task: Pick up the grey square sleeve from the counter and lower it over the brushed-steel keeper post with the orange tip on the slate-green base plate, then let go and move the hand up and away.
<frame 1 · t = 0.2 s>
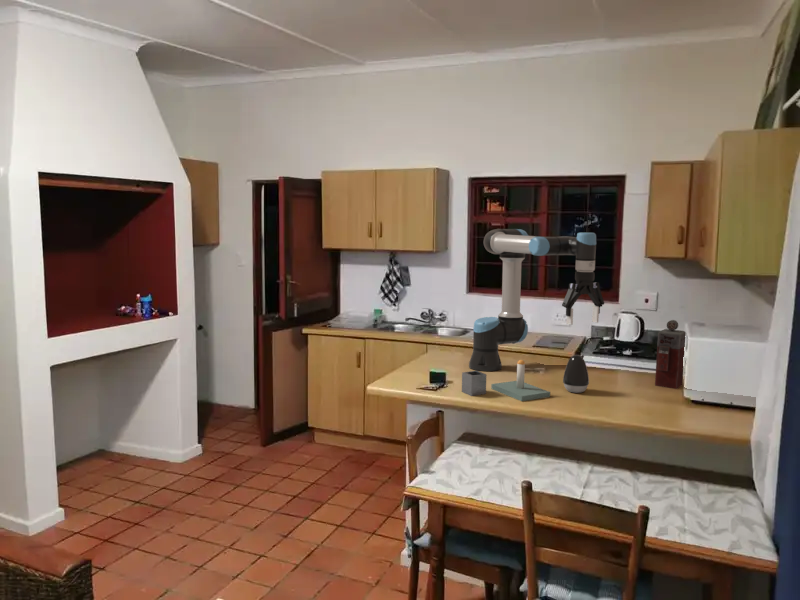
hand: (582, 323, 262), 28 cm above the table, fingers open, 13 cm apart
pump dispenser: (575, 391, 263), on the table
keeper: (520, 392, 260), on the table
toy vending machine: (667, 386, 274), on the table
grey square sleeve: (473, 392, 260), on the table
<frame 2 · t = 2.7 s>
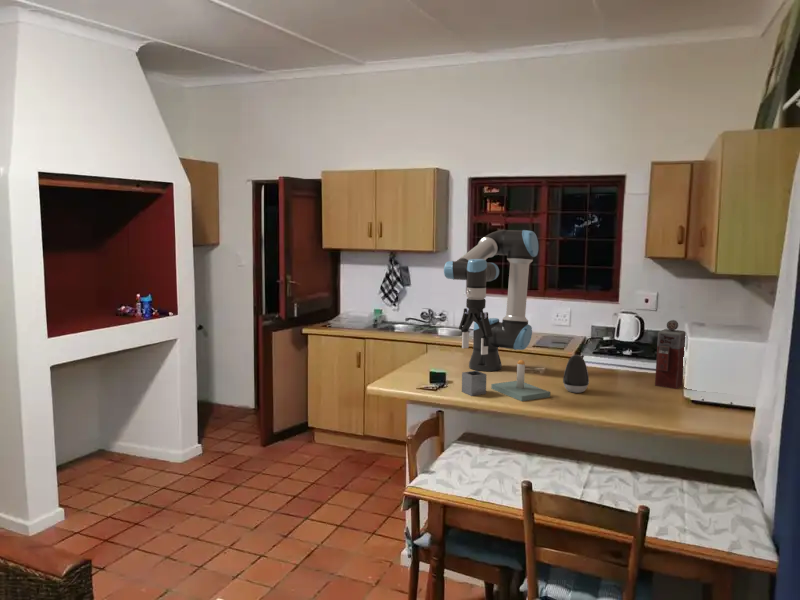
hand: (474, 351, 257), 17 cm above the table, fingers open, 13 cm apart
nothing on the table moved.
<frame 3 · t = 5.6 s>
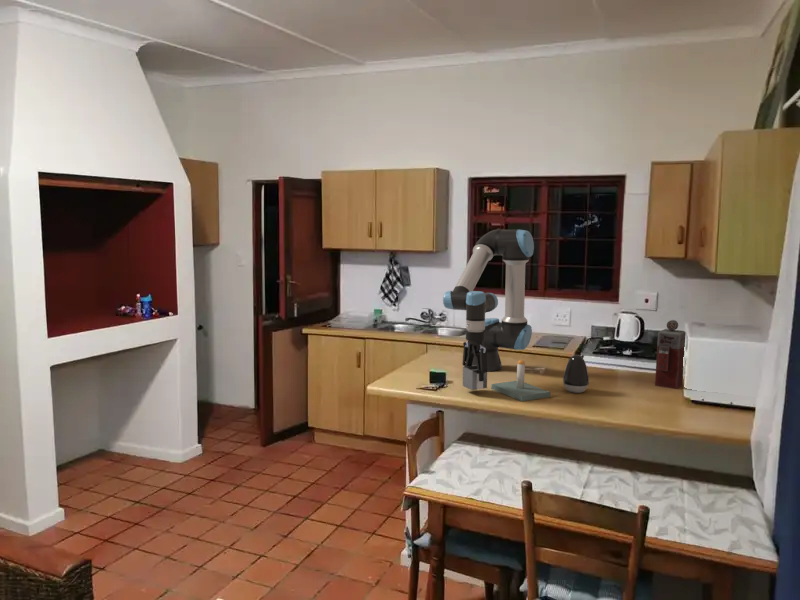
hand: (474, 386, 260), 3 cm above the table, fingers closed on grey square sleeve, 7 cm apart
grey square sleeve: (474, 386, 260), point 2 cm above the table, touching gripper
everything else where it was.
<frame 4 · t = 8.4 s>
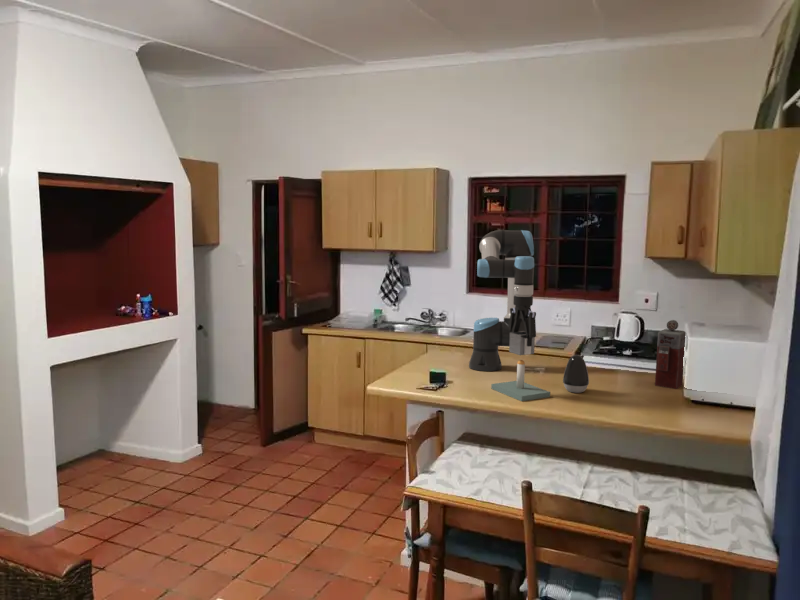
hand: (521, 352, 258), 17 cm above the table, fingers closed on grey square sleeve, 7 cm apart
grey square sleeve: (521, 352, 258), point 16 cm above the table, touching gripper
everything else where it was.
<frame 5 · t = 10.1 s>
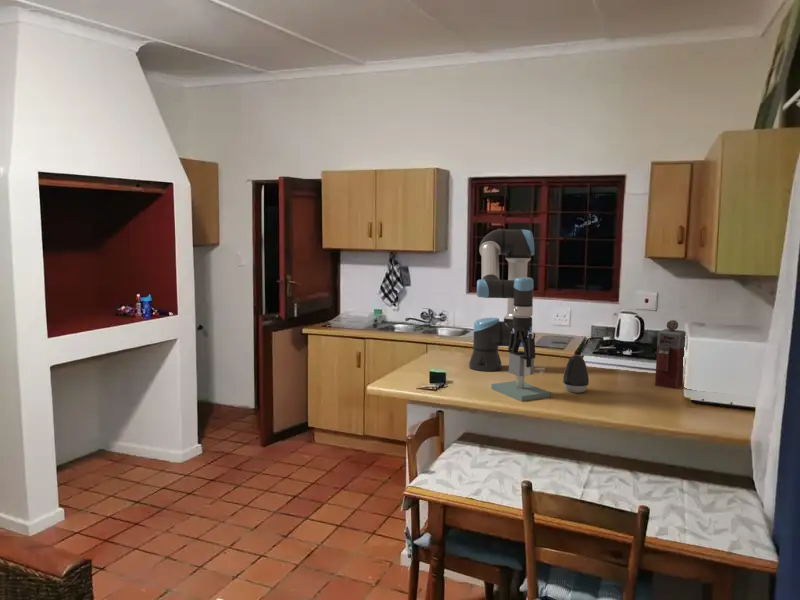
hand: (520, 372, 259), 8 cm above the table, fingers closed on grey square sleeve, 7 cm apart
grey square sleeve: (521, 373, 259), point 8 cm above the table, touching gripper
everything else where it was.
when the fingers open (5 cm above the table, at t = 11.4 s): grey square sleeve drops 3 cm, resting on keeper.
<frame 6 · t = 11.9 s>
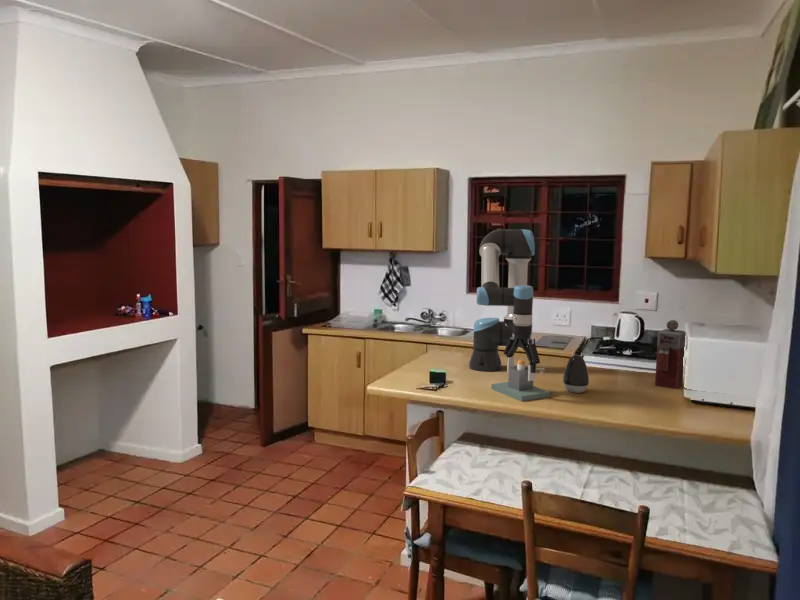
hand: (520, 376, 259), 7 cm above the table, fingers open, 13 cm apart
grey square sleeve: (520, 387, 260), point 2 cm above the table, touching keeper
everything else where it was.
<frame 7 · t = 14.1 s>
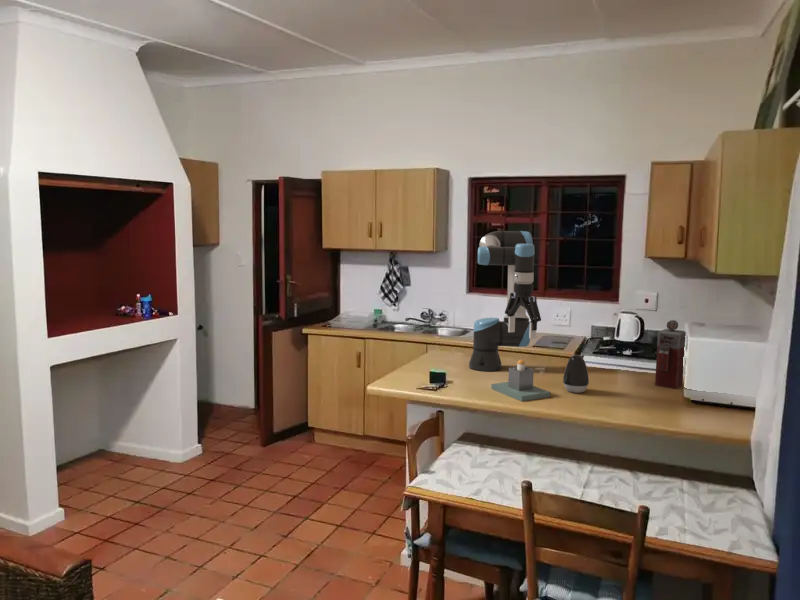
hand: (521, 335, 259), 23 cm above the table, fingers open, 13 cm apart
nothing on the table moved.
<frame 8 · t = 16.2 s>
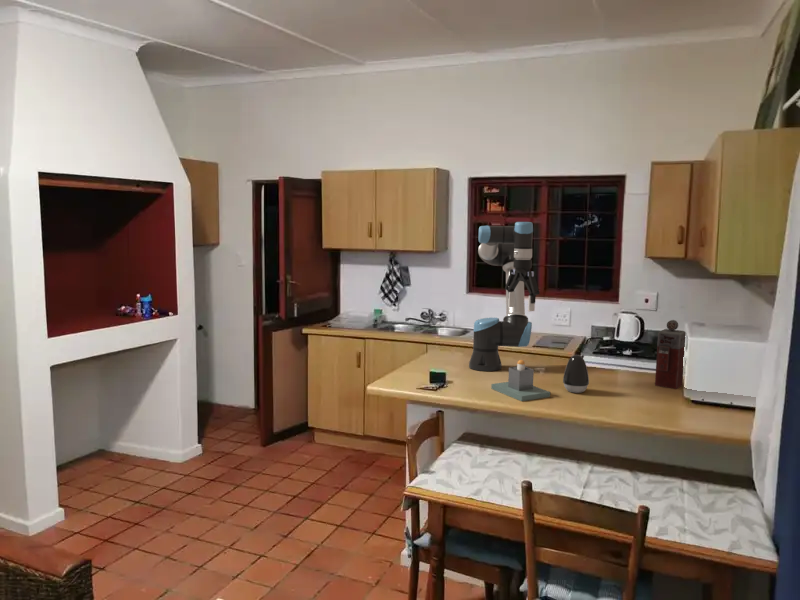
hand: (521, 309, 273), 32 cm above the table, fingers open, 13 cm apart
nothing on the table moved.
at the end: grey square sleeve 0.2 cm off-centre on the keeper, point 2.0 cm above the keeper's base; the gripper is holding nothing; grey square sleeve tilted 0° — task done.
